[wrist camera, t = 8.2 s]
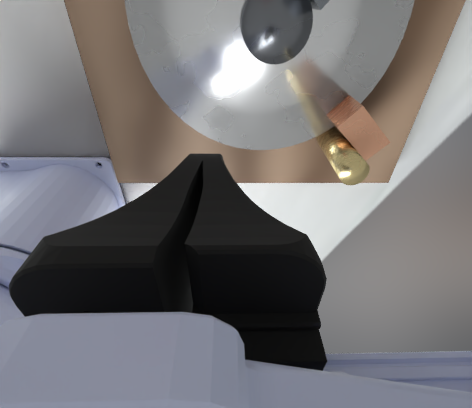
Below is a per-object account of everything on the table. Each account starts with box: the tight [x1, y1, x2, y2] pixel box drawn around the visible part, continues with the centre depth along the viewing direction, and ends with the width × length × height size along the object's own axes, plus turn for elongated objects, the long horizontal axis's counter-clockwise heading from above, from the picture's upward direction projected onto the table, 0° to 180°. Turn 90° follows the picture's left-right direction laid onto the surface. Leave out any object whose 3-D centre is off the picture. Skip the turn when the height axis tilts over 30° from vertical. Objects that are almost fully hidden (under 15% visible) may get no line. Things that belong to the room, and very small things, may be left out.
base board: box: [64, 0, 466, 183], centre depth 15 cm, size 21×21×2 cm
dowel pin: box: [316, 126, 370, 185], centre depth 17 cm, size 2×2×5 cm
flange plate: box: [125, 0, 415, 161], centre depth 13 cm, size 16×16×4 cm
